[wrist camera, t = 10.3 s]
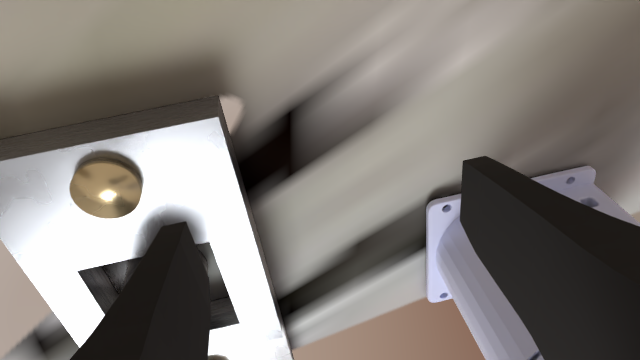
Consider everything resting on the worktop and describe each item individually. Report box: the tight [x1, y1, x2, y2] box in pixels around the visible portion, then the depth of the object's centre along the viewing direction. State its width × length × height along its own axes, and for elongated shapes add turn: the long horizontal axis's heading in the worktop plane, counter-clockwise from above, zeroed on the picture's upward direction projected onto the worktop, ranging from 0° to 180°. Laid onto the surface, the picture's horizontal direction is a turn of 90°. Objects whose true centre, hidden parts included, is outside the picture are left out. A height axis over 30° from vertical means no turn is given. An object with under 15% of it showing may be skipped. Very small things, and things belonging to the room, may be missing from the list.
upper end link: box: [0, 96, 284, 355], centre depth 22 cm, size 10×14×2 cm
